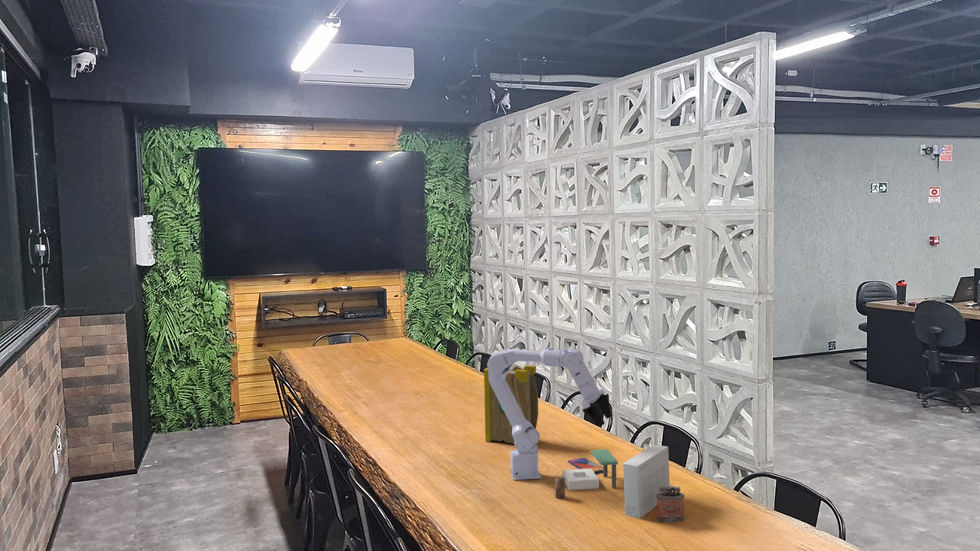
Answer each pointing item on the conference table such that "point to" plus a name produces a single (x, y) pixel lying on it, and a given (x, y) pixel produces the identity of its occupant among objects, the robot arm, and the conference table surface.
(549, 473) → the conference table surface
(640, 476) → the skincare box
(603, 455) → the small green stool
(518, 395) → the decorative book
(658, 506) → the lighter
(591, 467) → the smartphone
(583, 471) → the socket block
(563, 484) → the peg
